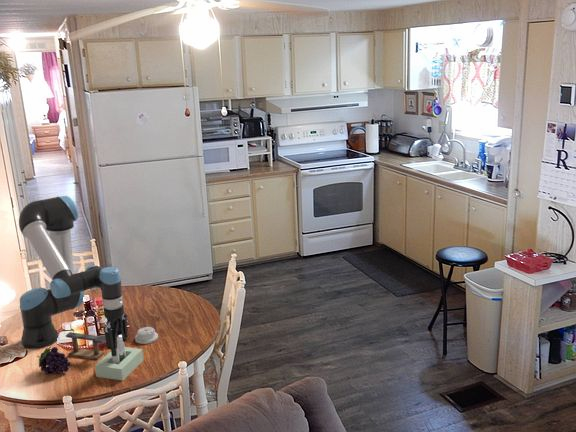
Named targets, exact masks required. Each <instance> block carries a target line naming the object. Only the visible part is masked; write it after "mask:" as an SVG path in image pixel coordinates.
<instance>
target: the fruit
mask: <svg viewBox="0 0 576 432" xmlns="http://www.w3.org/2000/svg"><path fill="white" fill-rule="evenodd" d="M46 347H47V348H46ZM46 347H45V350H44V351H43V352H41V354H40V356H39V355H36V357H38V358H39V359H38V368H40V371H41V372H43V373H46V374H48V373H50V371H51V372H53V373H55V374H58V373H59V374H62V373H67V372H69V367H70V366H71V362H69V359H68V357H66V354H65V353H63V352H59V350H58V349H59V348H58V347H56V346H53V347H52V345H49V346H46Z"/></svg>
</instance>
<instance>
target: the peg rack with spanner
mask: <svg viewBox="0 0 576 432" xmlns="http://www.w3.org/2000/svg"><path fill="white" fill-rule="evenodd" d="M65 338H70V339H71V343H72V350H71V351H70V352H69V353H68V356H69V357H74V358H83V359H90V360H95V361H98V360H99V359H100V358H101V357H103V356H104V354H105V351H102V350H100V348H99V344H104V343H106V339H105V334H101V335H94V334H87V333H86V334H85V333H78V332H71V331H70V332H68V333H67V334H65ZM78 340H84V341H92V348H93V349H88V348H87V349H86V348H79V344H78Z"/></svg>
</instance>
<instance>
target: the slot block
mask: <svg viewBox="0 0 576 432" xmlns="http://www.w3.org/2000/svg"><path fill="white" fill-rule="evenodd" d="M125 351H126V357H125V359H124V360H123V361H121V362H120V363H119V364H115V362H113V360H112V354H111V351H109V352H108V353H107V354H106V355H105V356H104V357H103V358H101V359H100V360H99V361H98V362H97V363H96V364H95V365H94V371H95V377H96V378H104V379H110V380H116V381H124V380H125V379H126V378H127V377H128V376H129V375H130V374H131V373H132V372H133V371H134V370H136V368H138V367H139V365H140V364H141V363H142V362H144V359H145V358H144V350H143V348H137V347H129V346H125Z"/></svg>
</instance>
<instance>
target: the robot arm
mask: <svg viewBox="0 0 576 432" xmlns="http://www.w3.org/2000/svg"><path fill="white" fill-rule="evenodd" d="M78 219H79V211H78V207H77V205H76V203H75V202H74V200H73V199H72V198H71V197H70V196H68V195H63V196H58V195H57V196H55V197H51V198H46V199H40V200H34V201H31V202H29V203H27V204H26V205H25V206H24V207H23V208H22V210H21V212H20V214H19V218H18V226H19V230H20V232H21V234H22V236H23V237H24V238H26V239H28V240H29V242H30V244H31V246H32V248H33V250H34V251H35V253H36V254H37V256H38V258H39V259H40V261H41V264H42V265H43V266H44V268H45V269H46V271H47V273H48V275H49V276H50V278H51V279H52V280H51V281H50V284H49V288H50V289H48V288H45V287H38V288H37V287H35V288H33V289H29V290H28V291H26V292H25V293H22V294H21V296H20V297H19V309H20V313H21V314H20V315H21V320H22V326H23V329H22V334H21V340H20V342H21V346H22V345H23V346H24V347H23V346H22V347H23V348H25V349H29V350H30V349H31V350H36V349H42V348H46V347H50V346H52V345H53V344H55V342H57V341H58V340H57V338H58V339H59V333H58V330H57V329H56V327H55V326H54V323H53V322H52V321H53V320H52V317H53V316H56V315H58V314H60V313H61V314H62V313H64V312H67V311H70V310H74V309H76V308H79V307H80V306H81V305H83V303H84V301H83V297H84V298H85V291H89V290H92V289H95V288H98V289H100V290H101V291H100V292H101V299H102V307H103V316H104V317H105V319H107V322H106V324H107V325H106V326H105V327H104V326H103V329H102V330H103V333H104V335H105V339H106V341H105V345H106V349H107V350H110V352H111V354H112V360H113V362H115V363H119V362H120V360H119V351H118V347H117V333H121V334H122V339H123V348H124V357H126V351H125V347H126V342H127V341H128V339H127V338H128V336H129V335H128V324H127V322H128V321H127V318H128V315H127V314H126V313H125V307H124V300H123V290H122V276H121V273H120V269H119V268H118V267H116V266H115V267H113V266H108V267H107V266H106V267H103V266H100V265H99V266H98V265H95V264H93V265H89V266H88V267H87V268H86V269H85V270H84V271H79V272H77V273H75V272H74V259H73V247H72V246H73V245H72V235H71V234H72V233H71V230H72V229H74V228H75V225H74V222H76V221H78Z"/></svg>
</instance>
